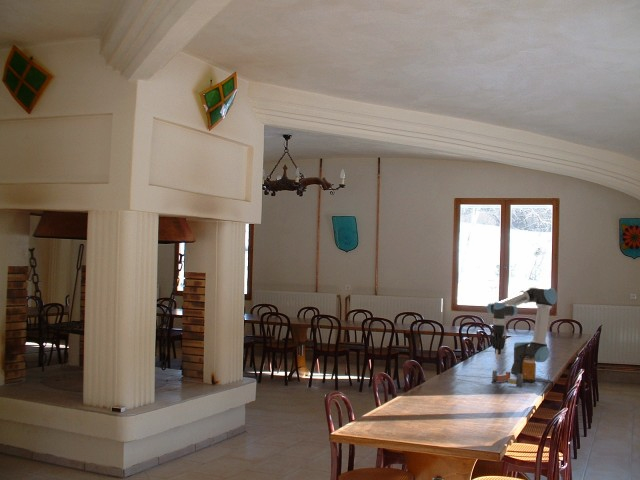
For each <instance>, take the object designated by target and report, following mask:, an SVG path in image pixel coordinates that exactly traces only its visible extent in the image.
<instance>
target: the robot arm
mask: <svg viewBox="0 0 640 480" xmlns="http://www.w3.org/2000/svg"><path fill="white" fill-rule="evenodd" d="M557 301H558V294H557V291H556V290H555V288H553V287H547V286H532V287H528V288H525V289H522V290H520V291H519V293H516V294H515V295H512V296H510V297H508V298H505V299H502V300H500V301H495V302H494V303H492V302H491V303H488V304H487V305H486V306H487V307H486V312H488V314H491V315H493V319H492V321H493V322H492V323H493V326H492V330H493V332H492V333H490V334H489V336H490V338H491V346H492V349H494V355H495V360H500V359H501V354H502V350H504V349H505V343H506V341H507V340H506V339H507V337H508V336H507V335H505V332H504V331H505V322H506V320H505V317H513V316H514V317H515V316H517V315H518V312H519V310H518V309H519V308H518V306H520V305H522V304H528V303H535V305H536V306H537V310H536V317H535V324H534V330H533V338H532V340H531V341H522V342H521V341H518V342H515V343H514V345H513V363H512V366H511V369H510V372H511V373H510V374H514V375H517V374H519V373H520V356H519V355H521V354H523V353H524V352H526V353H533V354H535V356H533V357H532V358H533V359H535V363H536V362H537V363H545V362H546V361H547V360H548V359H549V357H550V354H551V352H550V348H549V347H548V343H547V342H546V341H547V339H546V338H547V333H548V325H549V319H550V311H551V309H552V308H553V305H554V304H556V302H557ZM523 356H524V355H523ZM523 356H521V357H523ZM522 363H523V359H522Z"/></svg>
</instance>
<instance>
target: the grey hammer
mask: <svg viewBox="0 0 640 480" xmlns="http://www.w3.org/2000/svg"><path fill="white" fill-rule="evenodd" d="M523 382H524V381H523V374H516V378H511V377H510V378H508V381H507V383H508V384H511V385H515V387H519V388H522V387H523Z"/></svg>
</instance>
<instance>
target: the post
mask: <svg viewBox="0 0 640 480" xmlns="http://www.w3.org/2000/svg"><path fill="white" fill-rule="evenodd" d="M497 373H498V371H497V370H492V375H491V376H492V379H491V380H492V381H491V382H490V383H492V384H498V382H497V375H498V374H497Z"/></svg>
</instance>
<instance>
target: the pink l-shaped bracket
mask: <svg viewBox="0 0 640 480" xmlns="http://www.w3.org/2000/svg"><path fill="white" fill-rule="evenodd" d="M511 374H512V373H511V371H505V374H497V383H500V382H508V378H510V379H511Z"/></svg>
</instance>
